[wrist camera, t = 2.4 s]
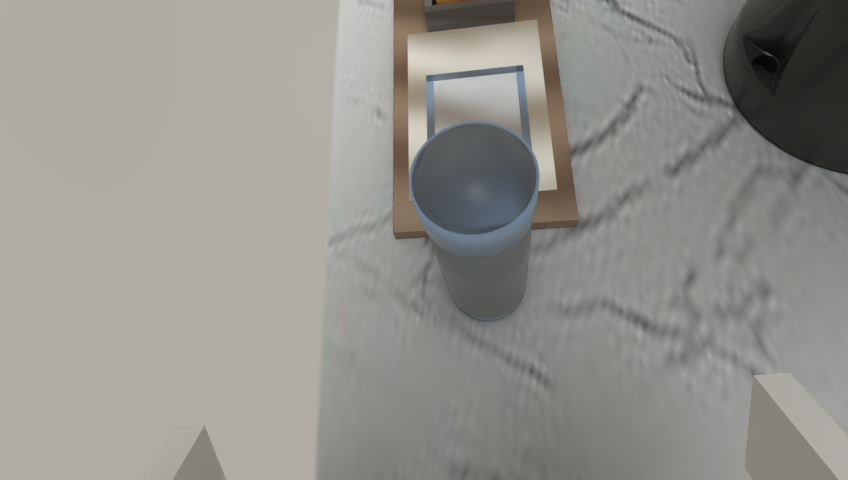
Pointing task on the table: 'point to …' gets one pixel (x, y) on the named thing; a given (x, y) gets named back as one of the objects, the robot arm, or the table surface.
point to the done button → (449, 1)
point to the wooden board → (480, 92)
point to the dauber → (478, 212)
